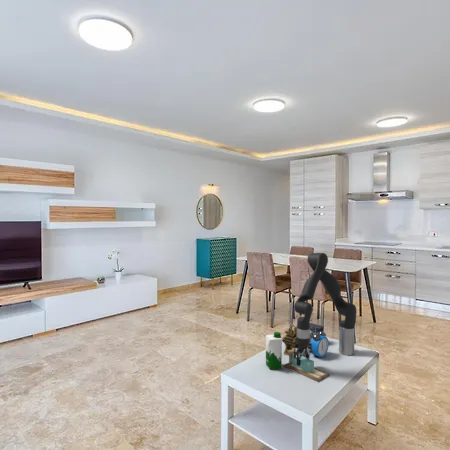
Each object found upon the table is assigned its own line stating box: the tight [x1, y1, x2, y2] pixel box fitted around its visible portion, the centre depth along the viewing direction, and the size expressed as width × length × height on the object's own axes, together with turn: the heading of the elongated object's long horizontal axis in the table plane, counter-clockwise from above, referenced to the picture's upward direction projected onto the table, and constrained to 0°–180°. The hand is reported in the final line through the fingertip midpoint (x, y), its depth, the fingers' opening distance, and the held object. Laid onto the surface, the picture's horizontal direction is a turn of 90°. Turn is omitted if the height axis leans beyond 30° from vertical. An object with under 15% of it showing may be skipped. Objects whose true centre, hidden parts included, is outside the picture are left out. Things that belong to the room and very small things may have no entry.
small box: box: [309, 322, 325, 342], centre depth 227 cm, size 13×7×12 cm, turn 50°
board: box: [283, 348, 330, 383], centre depth 183 cm, size 11×23×9 cm, turn 40°
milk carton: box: [265, 331, 283, 371], centre depth 188 cm, size 9×9×20 cm
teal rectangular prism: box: [292, 355, 315, 372], centre depth 185 cm, size 5×12×5 cm, turn 40°
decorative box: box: [281, 322, 301, 356], centre depth 208 cm, size 20×10×20 cm, turn 143°
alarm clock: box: [310, 331, 330, 359], centre depth 204 cm, size 13×6×15 cm, turn 131°
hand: (303, 363), depth 185 cm, fingers open, 8 cm apart
